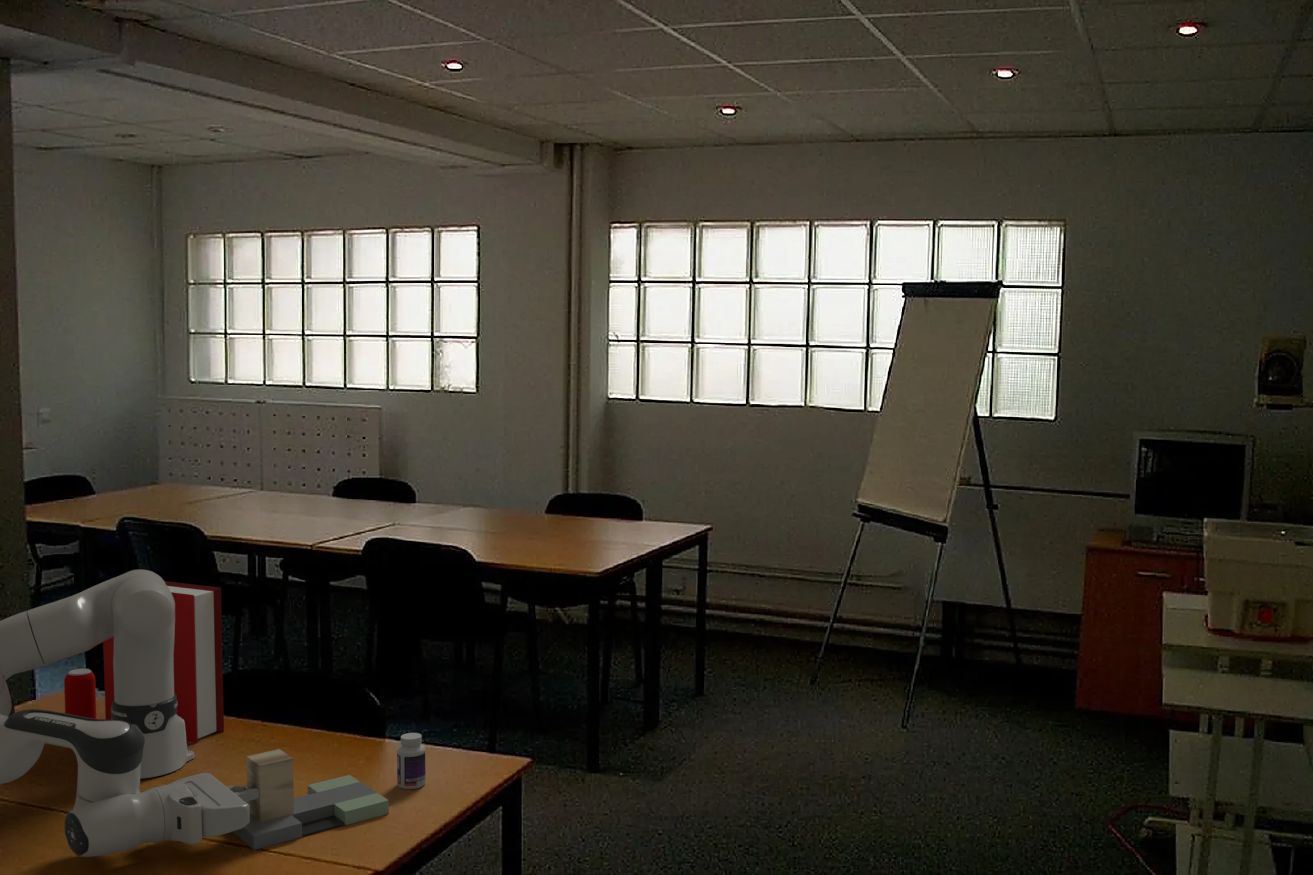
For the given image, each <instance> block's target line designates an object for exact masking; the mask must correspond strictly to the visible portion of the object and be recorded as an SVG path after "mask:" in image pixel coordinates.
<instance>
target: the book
mask: <svg viewBox="0 0 1313 875" xmlns="http://www.w3.org/2000/svg"><path fill="white" fill-rule="evenodd" d="M105 581H106V580H105ZM105 581H103V582H105ZM164 582H165V584H166V585H167V587H168V588H169V590H170V592H171V594H172V596H173V598H174V601H175V637H174V693H175V694H176V696H177V702H178V705H177V713H176V714H177V715H178V716H179V717H181V718H182V719H183V720H184V722H185V731H186V743H187V742H188V743H192V744H198V741H199V740H198V739H201V738H203V737H206V736H208V735H212V734H214V733H215V732H221V733H224V732H225V721H224V719H225V718H224V716H225V715H224V714H225V713H224V712H225V711H224V673H223V672H224V669H223V668H224V667H223V661H224V660H223V626H222V625H223V624H222V623H223V622H222V621H223V620H222V618H223V617H222V614H223V613H222V587H218V586H210V585H200V584H192V583H183V582H175V581H166V580H164ZM102 644H103V645H102V646H103V671H104V672H103V674H104V677H103V678H104V680H103V681H104V707H105V709H104V711H105V712H104V713H105V714H104V715H105V719H112V718H111V706H112V702H113V700H114V670H113V657H114V637H112V638H110V639H108V640H106V641H104V642H102Z"/></svg>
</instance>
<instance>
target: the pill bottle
mask: <svg viewBox="0 0 1313 875" xmlns="http://www.w3.org/2000/svg"><path fill="white" fill-rule="evenodd" d="M422 738H423V736H422V734H421V733H419V732H408V733H404V734H402V735H401V736H400V746H399V747H398V748H397V750H396V775H397V776H396V778H397V779H396V780H397V786H398V788H400V789H403V790H416V789H421V788H422V787H424V786H425V784H426V780H427V779H426V772H427V771H426V747H425V746H424V745H423V744H422V742H423V740H422Z"/></svg>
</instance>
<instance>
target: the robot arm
mask: <svg viewBox="0 0 1313 875" xmlns="http://www.w3.org/2000/svg"><path fill="white" fill-rule="evenodd" d="M164 581H165V580H164V579H163V578H162V577H161V576H160V575H159V574H157V573H155V572H154V571H152V570H147V569H131V570H130V571H127V572H125V573H122V574H120V575H118V576H116V577H115V576H114V577H112V578H110V579H107V580H105V582H104V581H102V582H100V583H98V584H96V585H93V586H90V587H89V588H86V589H85V590H82V591H81V592H78V593H76V594H73V595H71V596H67V597H65V598H62V599H59V600H55V601H53V602H50V603H46V604H44V605H41V606H37V607H34V608H31V609H28V610H25V611H22V612H19V613H16V614H14V615H11V616H8V617H7V618H4V619H2V620H0V785H2V784H6V783H7V784H8V783H10V782H13V781H16V780H18V779H19V778H20V777H22V776H24V775H25V774H26V773H27V772H29V771H30V770H31V768H32V767H33V766H34V765H35V764H36V763H37V761H38V759H39V758H40V756H41V754H42V752H43V749H44V746H45V744H48V745H53V746H58V747H63V748H67V749H68V748H69V749H71V750H72V751H73V753H74V755H75V757H76V761H77V785H76V794H75V795H76V798H75V802H74V805H73V808H72V810H71V811H69V812H67V814H66V816H65V819H64V834H65V838H66V841H67V844H68V846H69V849H70V850H71V852H73V853H74V854H75V855H76V856H77V857H84V858H87V857H88V858H93V857H101V856H107V855H113V854H118V853H121V852H126V851H129V850H134V849H136V848H137V847H139V846H141V845H145V844H147V843H148V844H149V843H153V844H155V843H161V842H164V841H165V842H166V841H171V842H173V841H175V842H181V843H184V844H187V845H196V844H199V843H201V842H203V838H214V837H218V836H221V835H225V834H228V833H232V832H233V831H235V830H239V829H241V828H244V827H245V826H246V825H248V824H249V822H250V808H249V804H248V803H247V802H249V801H250V800H254V799H257V798H259V790H258V789H257V788H256V787H254V786H253V785H252V784H249V785H247V784H245V785H227V786H226V785H225V784H224V783H223V782H221V781H220V780H219V779H217V778H216V777H215V776H214V775H213V774H211V773H210V772H200V773H197V774H193V775H190V776H187V777H181V778H179V779H177V780H174V781H172V782H171V783H169V784H165V785H160V786H156V787H151V788H149V789H146V790H144V791H143V792H141V791H140V786H141V785H140V784H141V779H150V778H155V777H159V776H164V775H167V774H170V773H173V772H175V771H178V770H179V769H181V768H182V767H183V766H184V765H185V764H186V763H187V762H188V761H191V760H192V759H194V758H195V757H196V756H195V751H192V750H190V749H188V744H187V742H186V731H185V722H184V720H183V719H182V718H181V717H179V716H178V715H177V714H176V713H177V705H178V702H177V696H176V694H175V693H174V637H175V601H174V598H173V596H172V594H171V592H170V590H169V588H168V587H167V585H166V584H165V582H164ZM112 637H114V657H113V670H114V700H113V702H112V706H111V718H112V719H106V718H105V719H99V718H96V719H92V718H87V717H82V716H76V715H71V714H65V712H59V711H54V710H49V709H41V708H40V709H37V708H29V709H21V710H18V711H16V710H15V709H16V708H15V703H14V701H13V699H12V698H11V695H10V692H9V687H8V684H7V682H6V681H7V680H8V679H10V677H12V676H14V675H16V674H20V673H24V672H28V671H31V670H35V669H38V668H41V667H44V666H47V665H50V664H53V663H55V662H59V661H61V660H65V659H68V658H70V657H74V656H76V655H79V654H82V653H85V652H88V651H90V650H92V649H93V648H95V647H96V646H98V645H99V644H101V643H102V644H103V642H104V641H106V640H108V639H110V638H112ZM15 711H16V712H15Z"/></svg>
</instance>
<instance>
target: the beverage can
mask: <svg viewBox="0 0 1313 875" xmlns="http://www.w3.org/2000/svg"><path fill="white" fill-rule="evenodd" d="M63 682H64V683H63V684H64V686H63V687H64V689H63V690H64V713H65V714H71V715H76V716H82V717H87V718H92V719H97V695H96V692H97V691H96V688H97V687H96V676H95V674H94V673H93V671H92V670H91V669H89V668H77V669H72V670H70V671H69V672H67V674H66V675H65V677H64V679H63Z"/></svg>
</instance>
